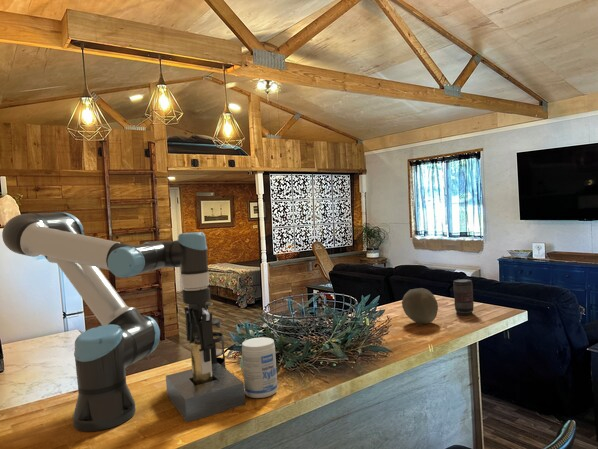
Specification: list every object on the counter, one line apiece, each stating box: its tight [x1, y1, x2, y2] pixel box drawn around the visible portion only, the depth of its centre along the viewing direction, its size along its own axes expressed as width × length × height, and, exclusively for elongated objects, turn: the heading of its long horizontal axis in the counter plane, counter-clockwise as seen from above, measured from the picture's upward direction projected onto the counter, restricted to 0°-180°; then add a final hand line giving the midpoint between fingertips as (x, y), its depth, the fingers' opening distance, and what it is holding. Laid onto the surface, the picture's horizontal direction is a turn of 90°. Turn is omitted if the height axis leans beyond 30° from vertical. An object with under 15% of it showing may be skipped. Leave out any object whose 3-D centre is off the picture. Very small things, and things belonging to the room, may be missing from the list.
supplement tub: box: [241, 336, 278, 399], centre depth 124 cm, size 10×10×15 cm
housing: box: [165, 363, 246, 423], centre depth 122 cm, size 16×20×6 cm
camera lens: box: [452, 278, 475, 317], centre depth 193 cm, size 8×8×15 cm
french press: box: [201, 301, 227, 369], centre depth 143 cm, size 12×9×23 cm
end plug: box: [189, 337, 213, 386], centre depth 122 cm, size 5×5×17 cm
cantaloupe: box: [401, 287, 439, 325], centre depth 182 cm, size 14×14×15 cm
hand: (201, 369), depth 122 cm, fingers closed on end plug, 5 cm apart
